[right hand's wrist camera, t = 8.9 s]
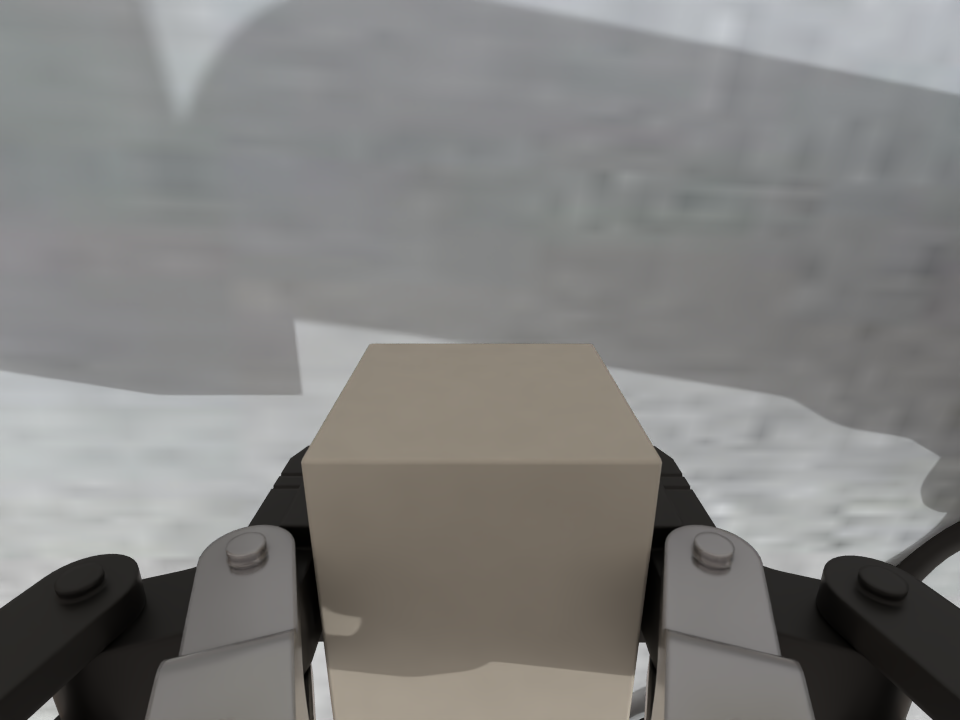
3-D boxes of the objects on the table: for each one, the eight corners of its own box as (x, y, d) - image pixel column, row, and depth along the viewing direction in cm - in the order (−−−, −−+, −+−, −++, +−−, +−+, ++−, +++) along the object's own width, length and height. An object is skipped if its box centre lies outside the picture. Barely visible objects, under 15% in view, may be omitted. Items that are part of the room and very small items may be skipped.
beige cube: (593, 342, 12) (664, 460, 7) (578, 542, 13) (628, 738, 9) (368, 342, 12) (299, 459, 7) (383, 542, 13) (334, 738, 9)
